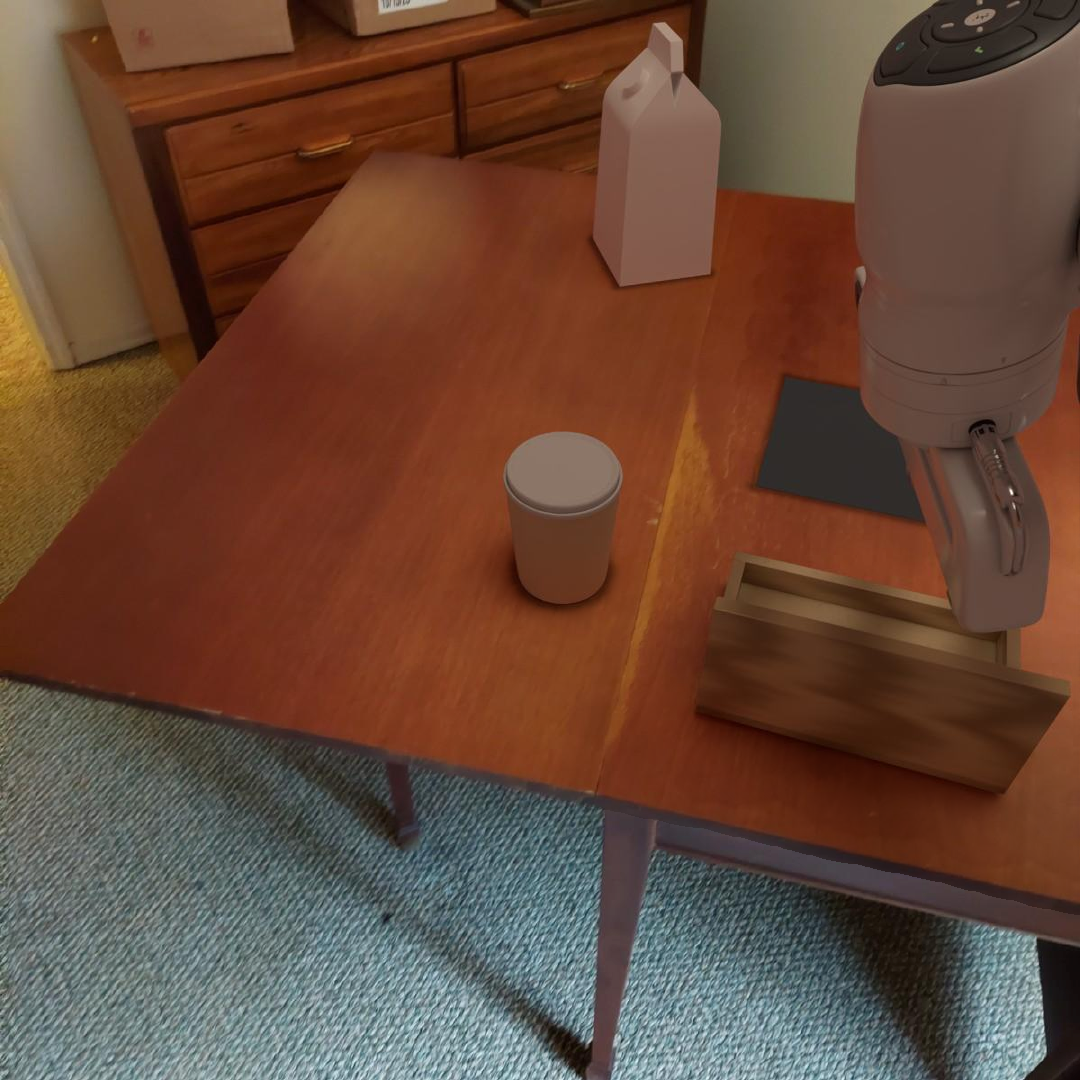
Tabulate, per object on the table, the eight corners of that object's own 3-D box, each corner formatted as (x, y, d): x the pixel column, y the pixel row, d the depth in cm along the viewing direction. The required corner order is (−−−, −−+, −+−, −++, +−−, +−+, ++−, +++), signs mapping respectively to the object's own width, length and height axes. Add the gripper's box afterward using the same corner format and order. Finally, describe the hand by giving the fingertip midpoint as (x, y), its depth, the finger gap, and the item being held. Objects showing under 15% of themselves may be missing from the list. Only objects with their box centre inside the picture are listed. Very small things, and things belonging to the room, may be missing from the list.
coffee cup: (638, 568, 83) (647, 464, 74) (566, 630, 78) (567, 527, 69) (558, 517, 87) (558, 413, 79) (486, 573, 83) (477, 469, 74)
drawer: (1002, 649, 76) (1063, 539, 67) (1000, 800, 67) (1071, 696, 58) (729, 584, 81) (751, 473, 72) (693, 716, 72) (713, 608, 63)
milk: (710, 274, 116) (740, 46, 98) (619, 286, 114) (632, 57, 96) (678, 227, 124) (699, 8, 106) (592, 238, 123) (599, 18, 104)
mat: (1003, 418, 97) (1004, 417, 97) (1002, 540, 85) (1003, 538, 85) (785, 378, 102) (785, 376, 102) (755, 487, 90) (756, 485, 90)
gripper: (1110, 509, 38) (1063, 686, 48) (968, 225, 51) (955, 411, 61) (943, 535, 39) (931, 702, 49) (846, 252, 52) (853, 430, 63)
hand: (943, 539), depth 56 cm, fingers open, 8 cm apart
